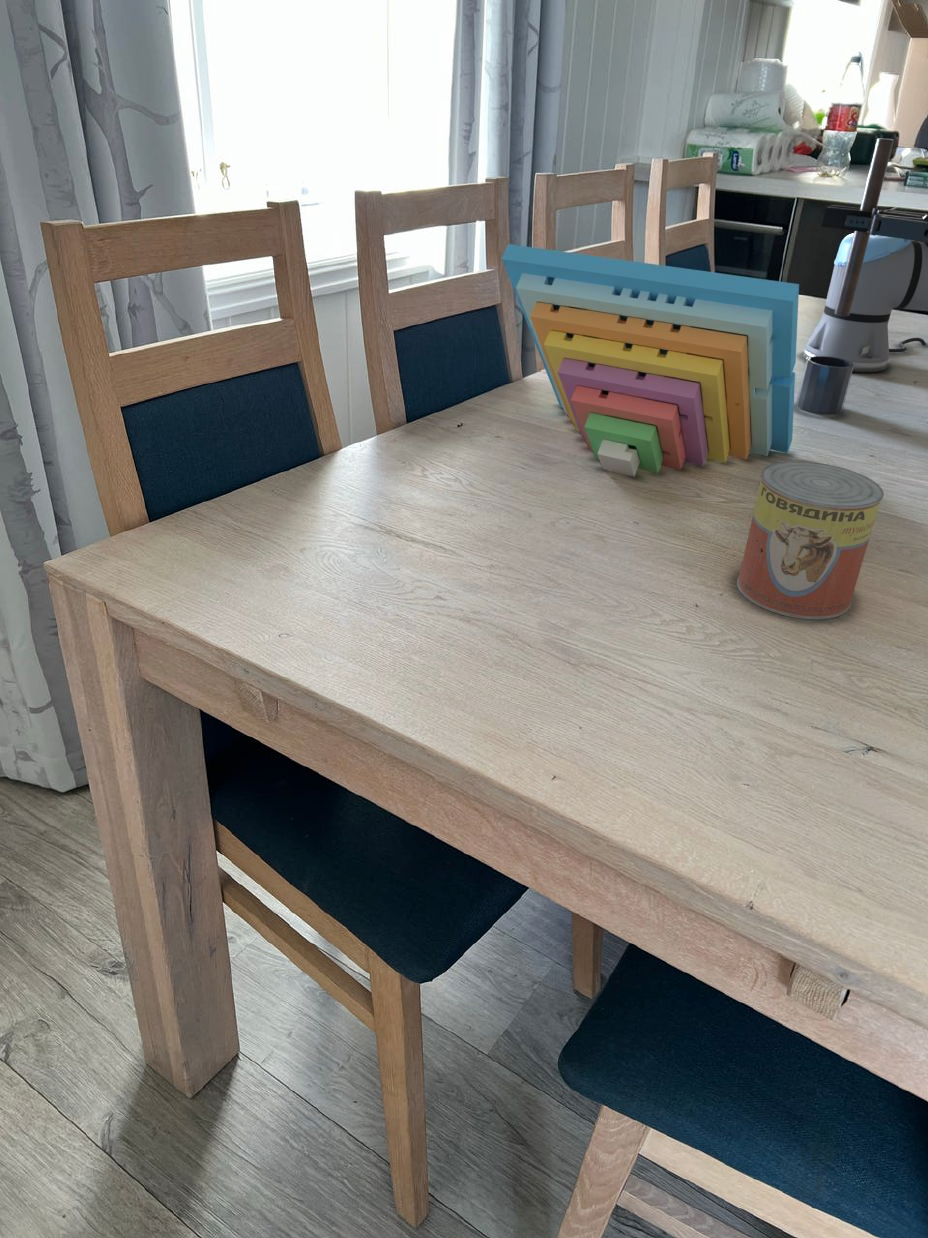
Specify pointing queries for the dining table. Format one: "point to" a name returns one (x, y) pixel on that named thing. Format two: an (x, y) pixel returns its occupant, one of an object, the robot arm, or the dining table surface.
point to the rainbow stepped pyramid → (661, 356)
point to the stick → (859, 237)
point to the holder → (824, 385)
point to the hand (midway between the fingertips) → (826, 215)
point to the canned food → (808, 539)
